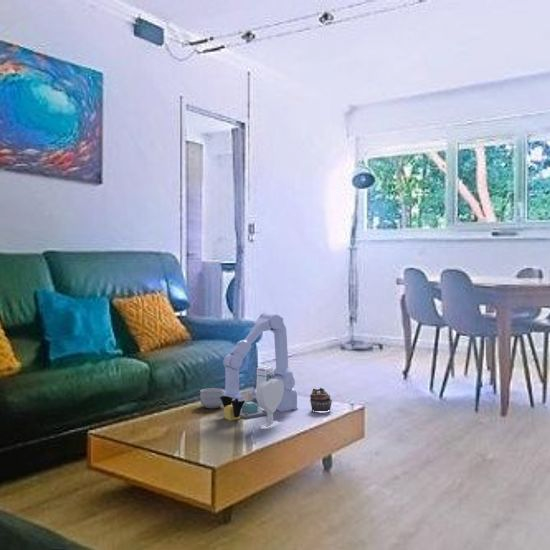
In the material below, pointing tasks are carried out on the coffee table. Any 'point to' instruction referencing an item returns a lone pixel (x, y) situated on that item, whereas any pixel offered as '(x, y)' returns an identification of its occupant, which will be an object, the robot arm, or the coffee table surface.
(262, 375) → the syrup box
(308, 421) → the coffee table surface
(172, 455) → the coffee table surface
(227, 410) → the ochre brick
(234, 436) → the coffee table surface
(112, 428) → the coffee table surface
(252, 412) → the base plate
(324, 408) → the cupcake
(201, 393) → the teacup
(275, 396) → the heart sculpture
